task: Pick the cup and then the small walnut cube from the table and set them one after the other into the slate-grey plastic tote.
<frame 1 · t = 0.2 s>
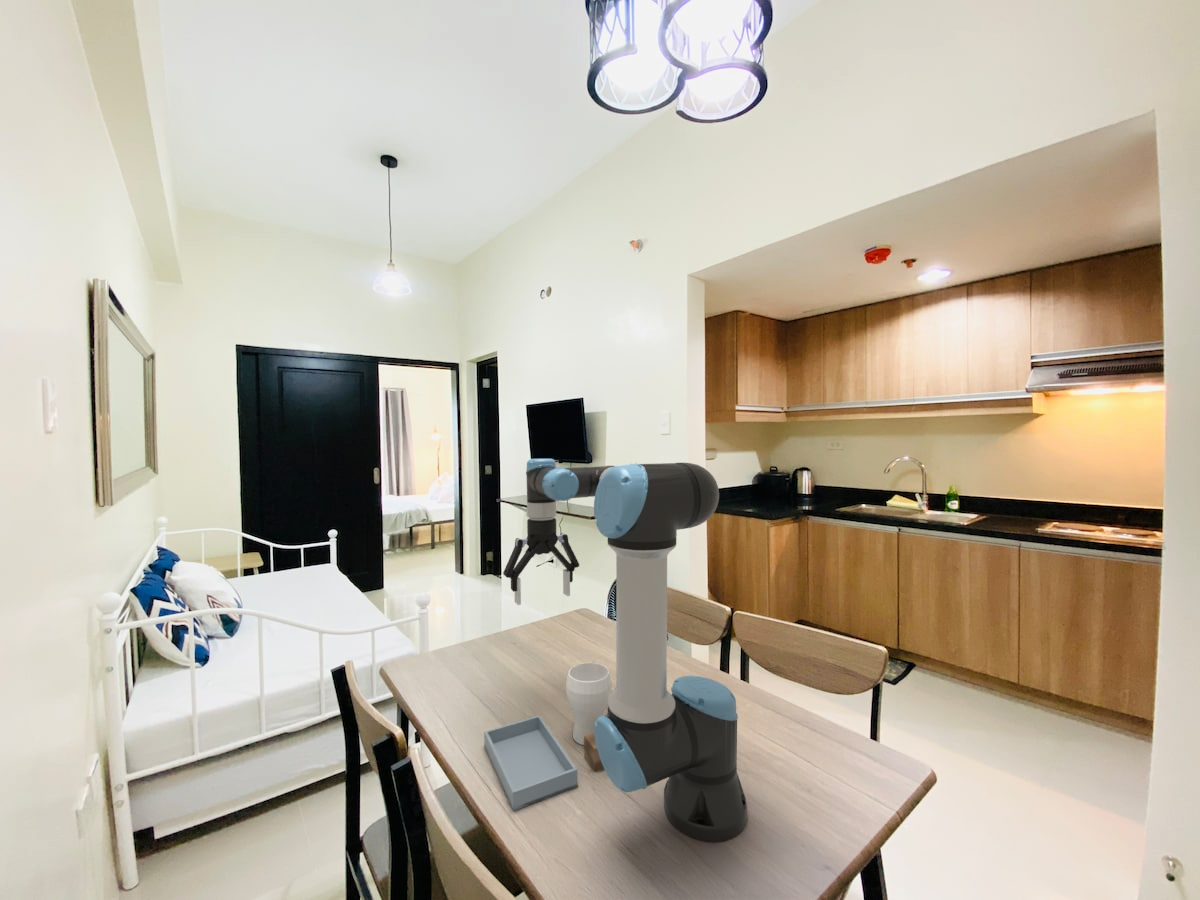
hand: (542, 598, 125), 27 cm above the table, fingers open, 13 cm apart
cup: (589, 736, 112), on the table
walnut cube: (599, 761, 103), on the table
tote: (528, 765, 101), on the table
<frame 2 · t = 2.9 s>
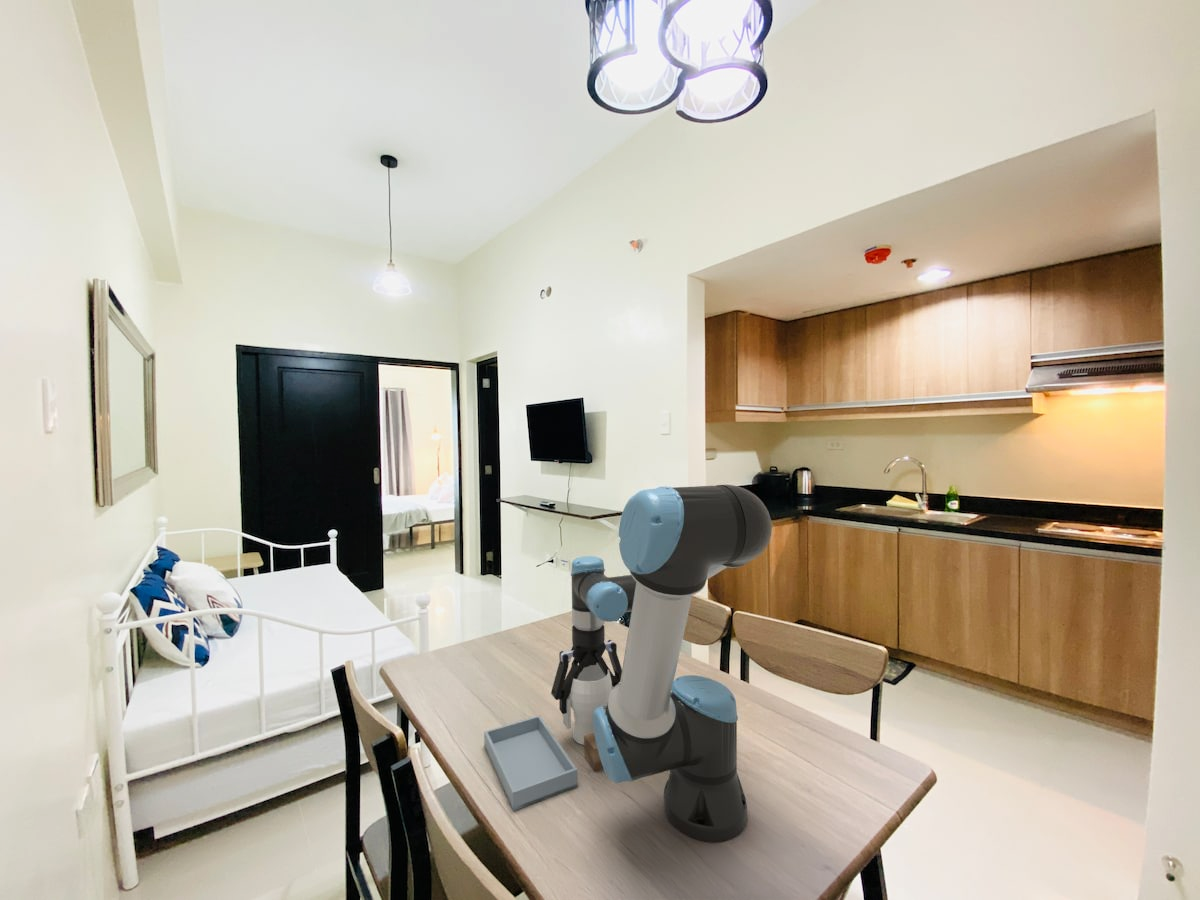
hand: (589, 718, 111), 4 cm above the table, fingers closed on cup, 10 cm apart
cup: (589, 736, 112), on the table, touching gripper
everything else where it was.
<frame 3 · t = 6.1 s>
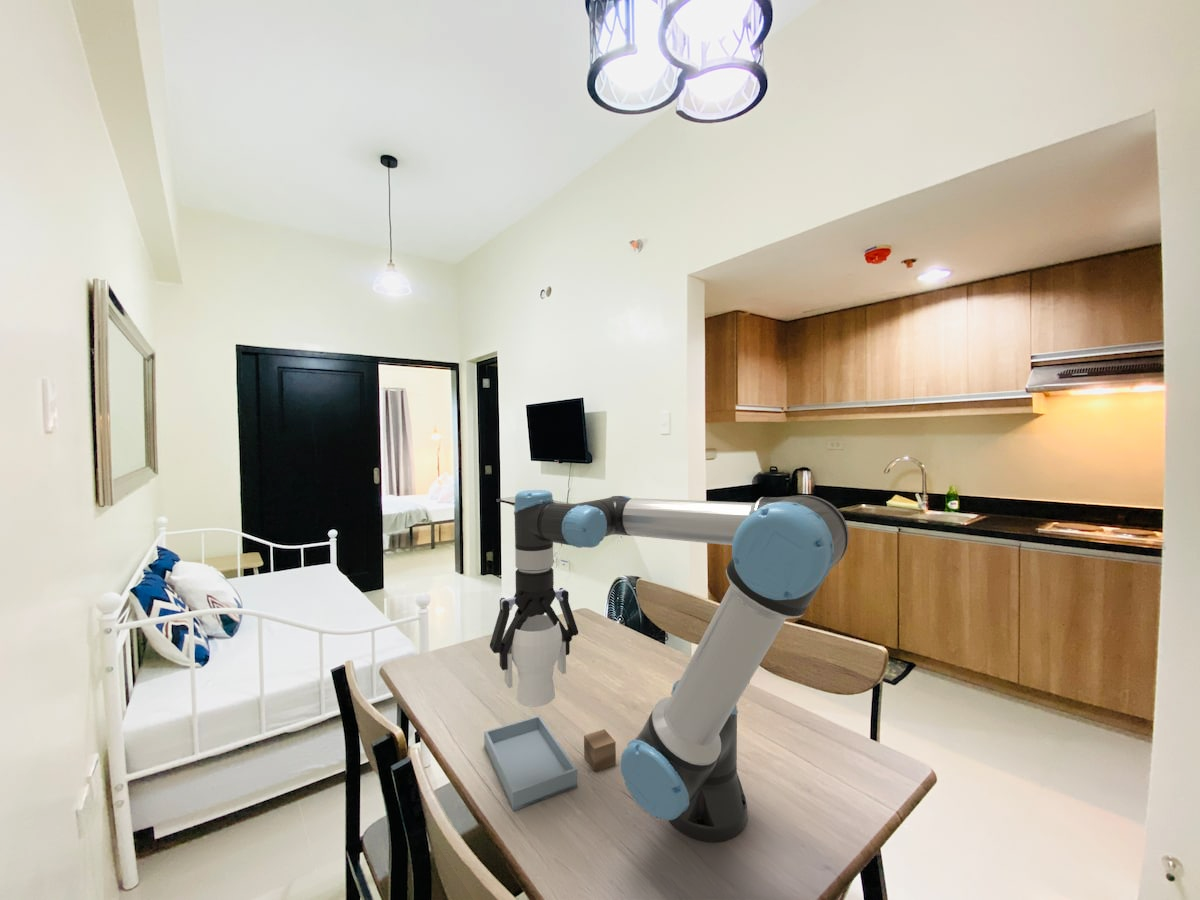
hand: (535, 677, 96), 21 cm above the table, fingers closed on cup, 10 cm apart
cup: (535, 697, 96), point 17 cm above the table, touching gripper
everything else where it was.
when the fingers open (6 cm above the table, at t = 9.4 s): cup drops 1 cm, resting on tote.
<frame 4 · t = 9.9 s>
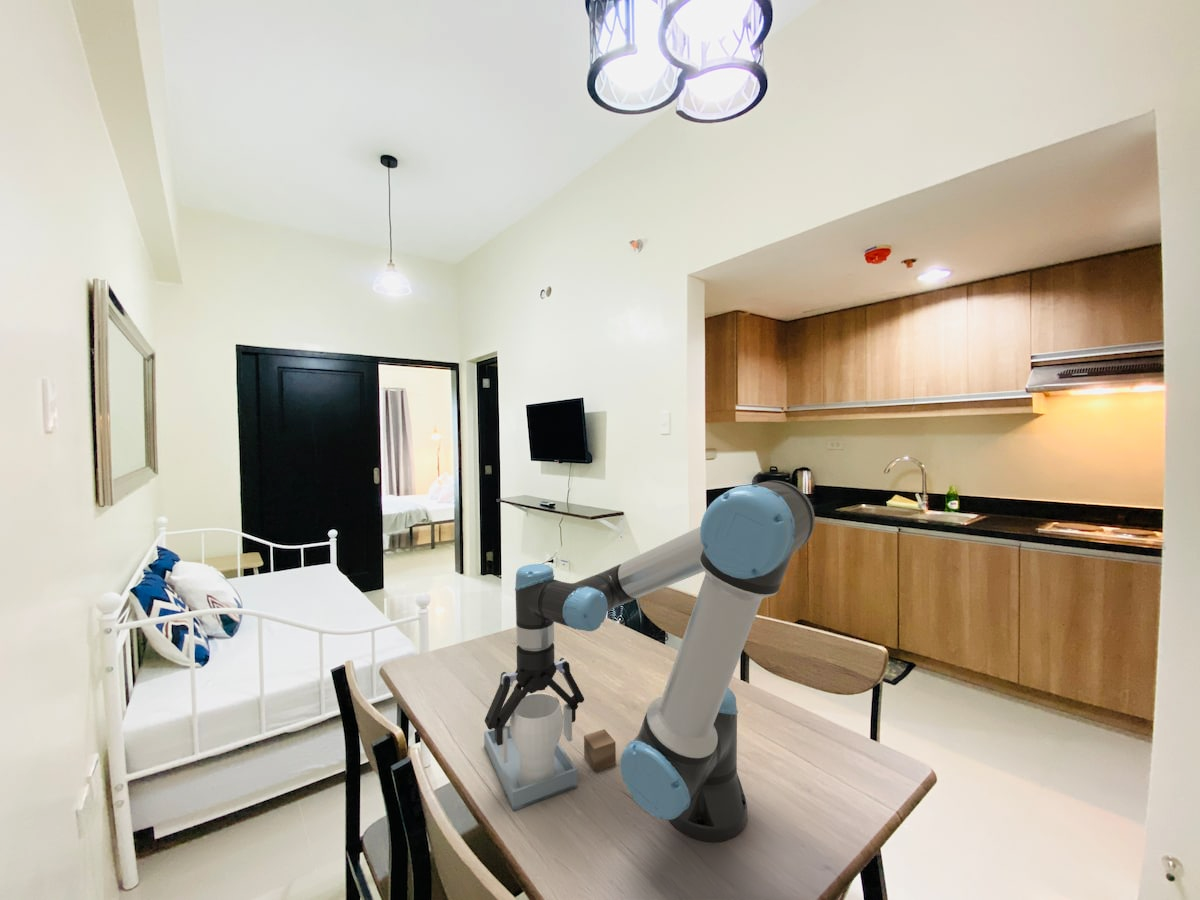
hand: (536, 748, 96), 7 cm above the table, fingers open, 13 cm apart
cup: (537, 779, 97), resting on tote
everything else where it was.
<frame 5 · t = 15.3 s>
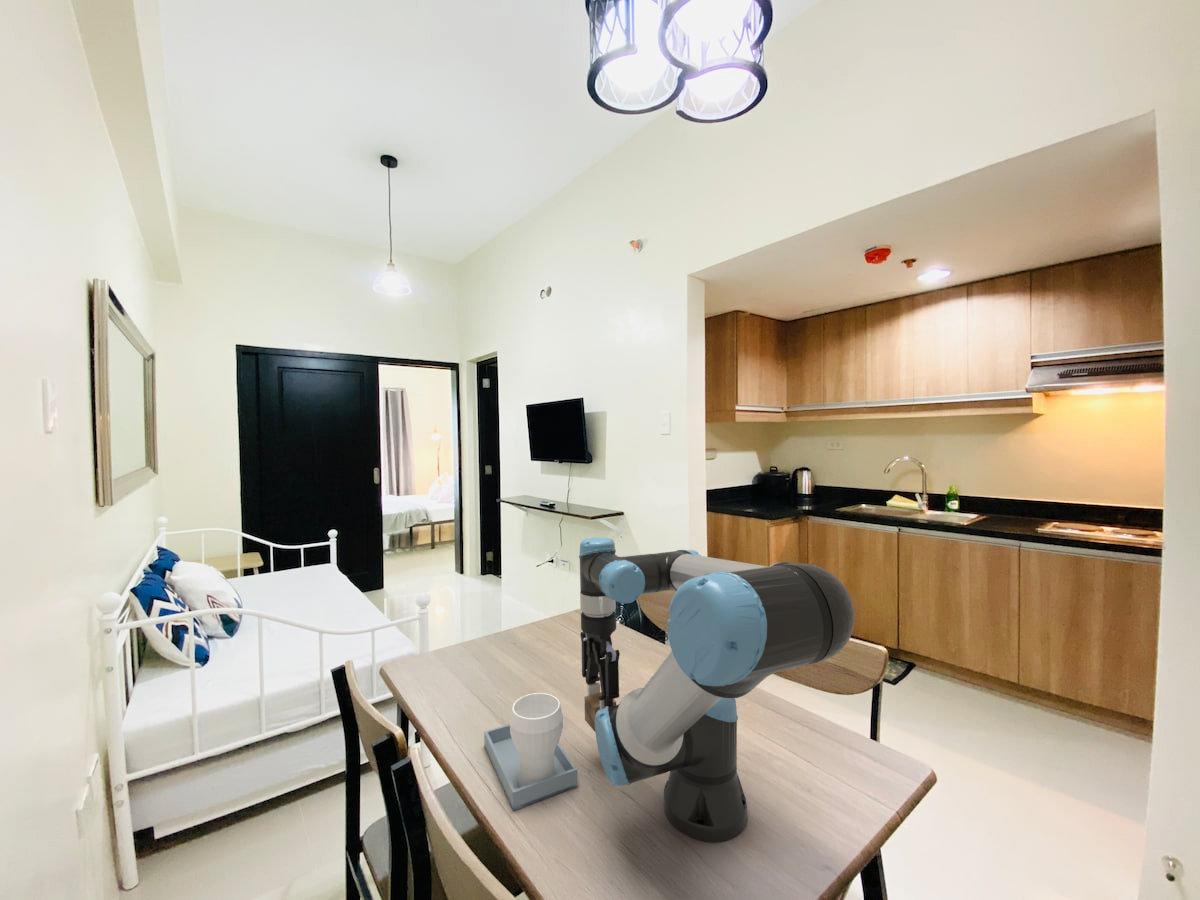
hand: (600, 720, 102), 9 cm above the table, fingers closed on walnut cube, 5 cm apart
walnut cube: (600, 722, 102), point 9 cm above the table, touching gripper
everything else where it was.
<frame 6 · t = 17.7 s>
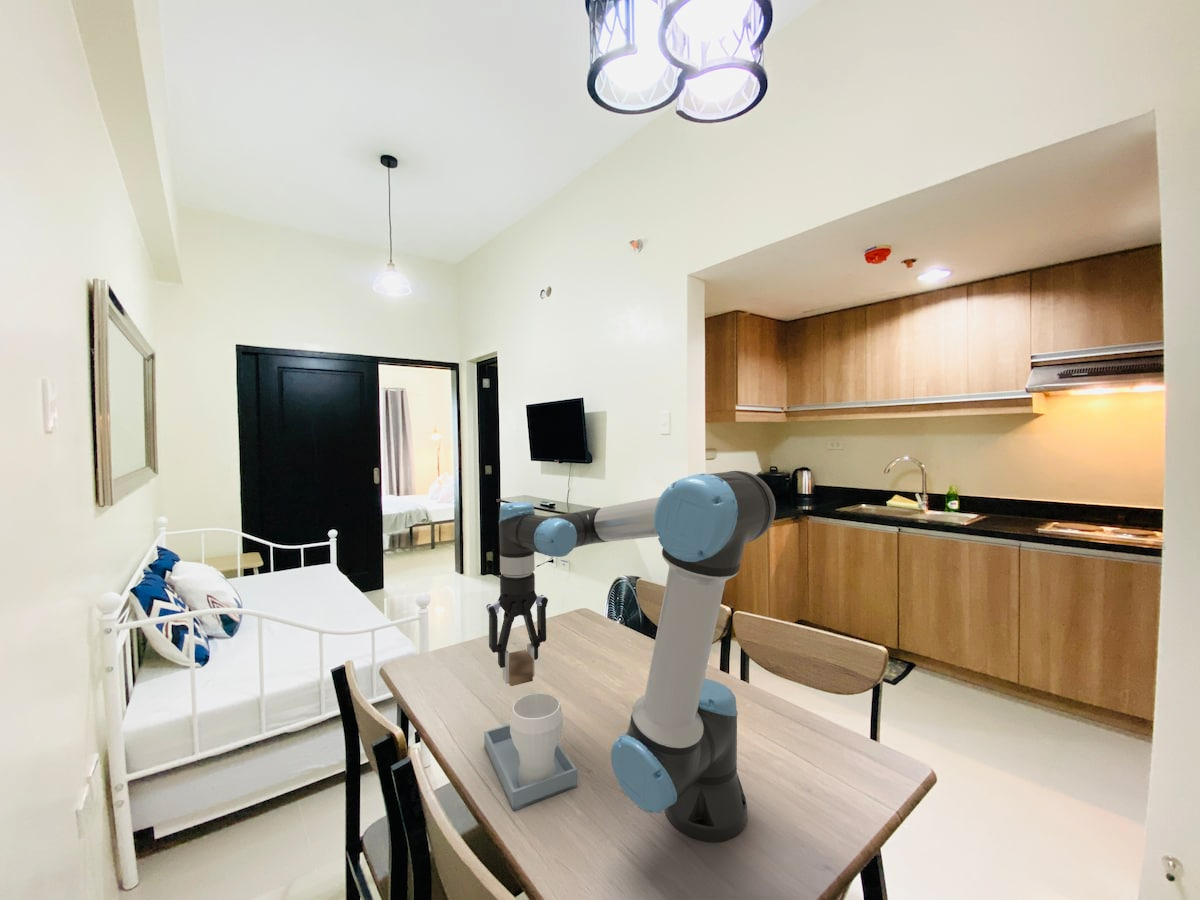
hand: (518, 677, 106), 16 cm above the table, fingers closed on walnut cube, 5 cm apart
walnut cube: (518, 678, 106), point 16 cm above the table, touching gripper
everything else where it was.
when the fingers open (3 cm above the table, at t = 20.2 s): walnut cube drops 2 cm, resting on tote.
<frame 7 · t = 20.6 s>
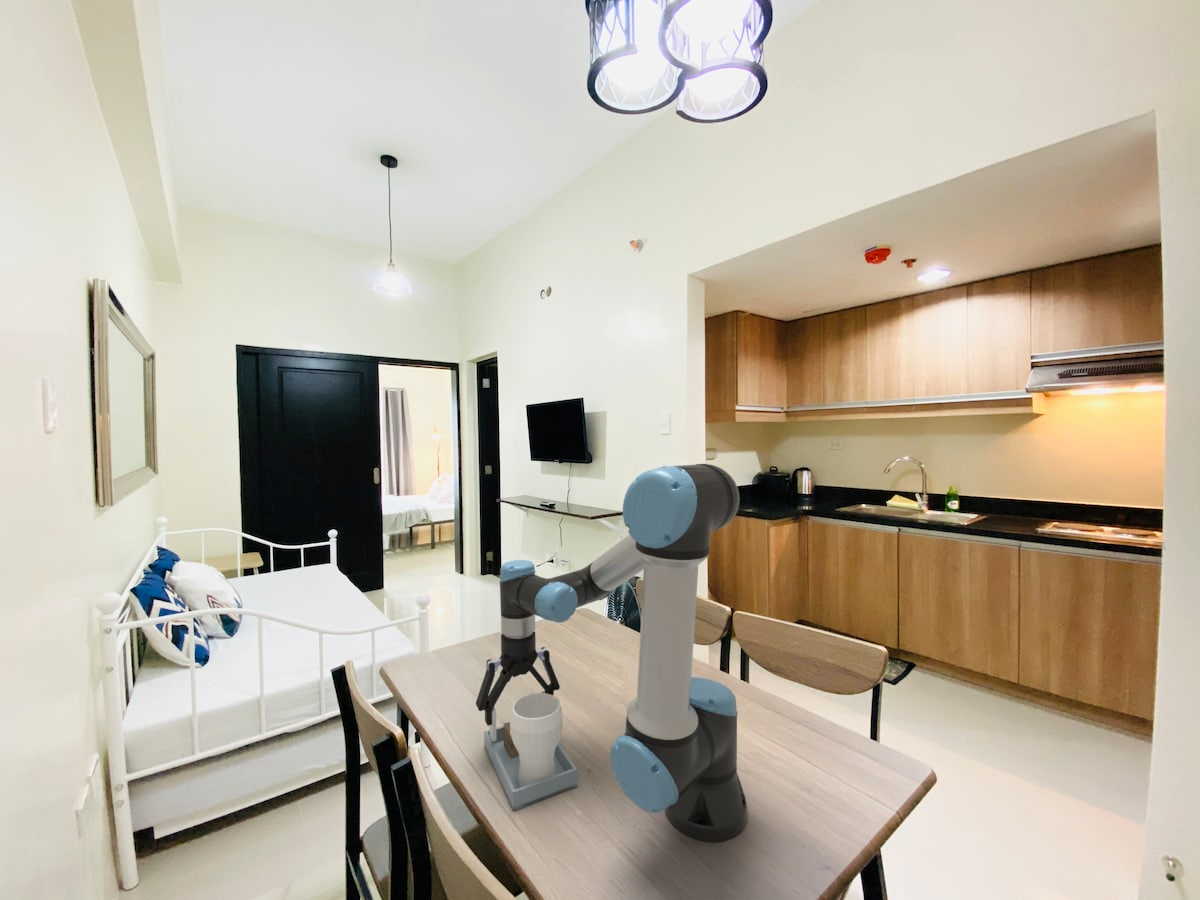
hand: (519, 729, 106), 5 cm above the table, fingers open, 11 cm apart
walnut cube: (518, 748, 106), point 1 cm above the table, touching tote
everything else where it was.
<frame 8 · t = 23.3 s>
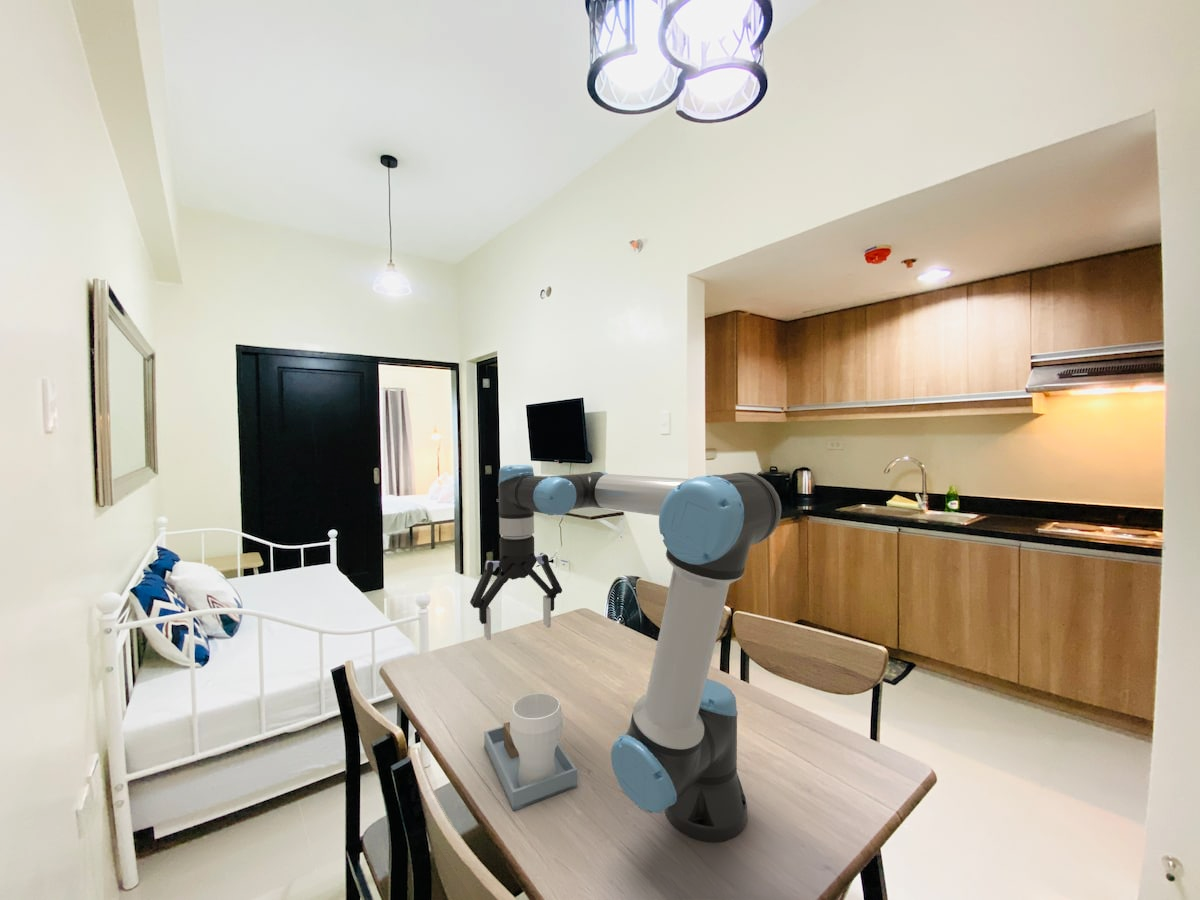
hand: (518, 631, 106), 27 cm above the table, fingers open, 13 cm apart
nothing on the table moved.
at the end: cup inside the target area on the tote (5.5 cm from its centre), point 0.4 cm above the tote's base; walnut cube inside the target area on the tote (5.5 cm from its centre), point 0.6 cm above the tote's base; cup tilted 0° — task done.
